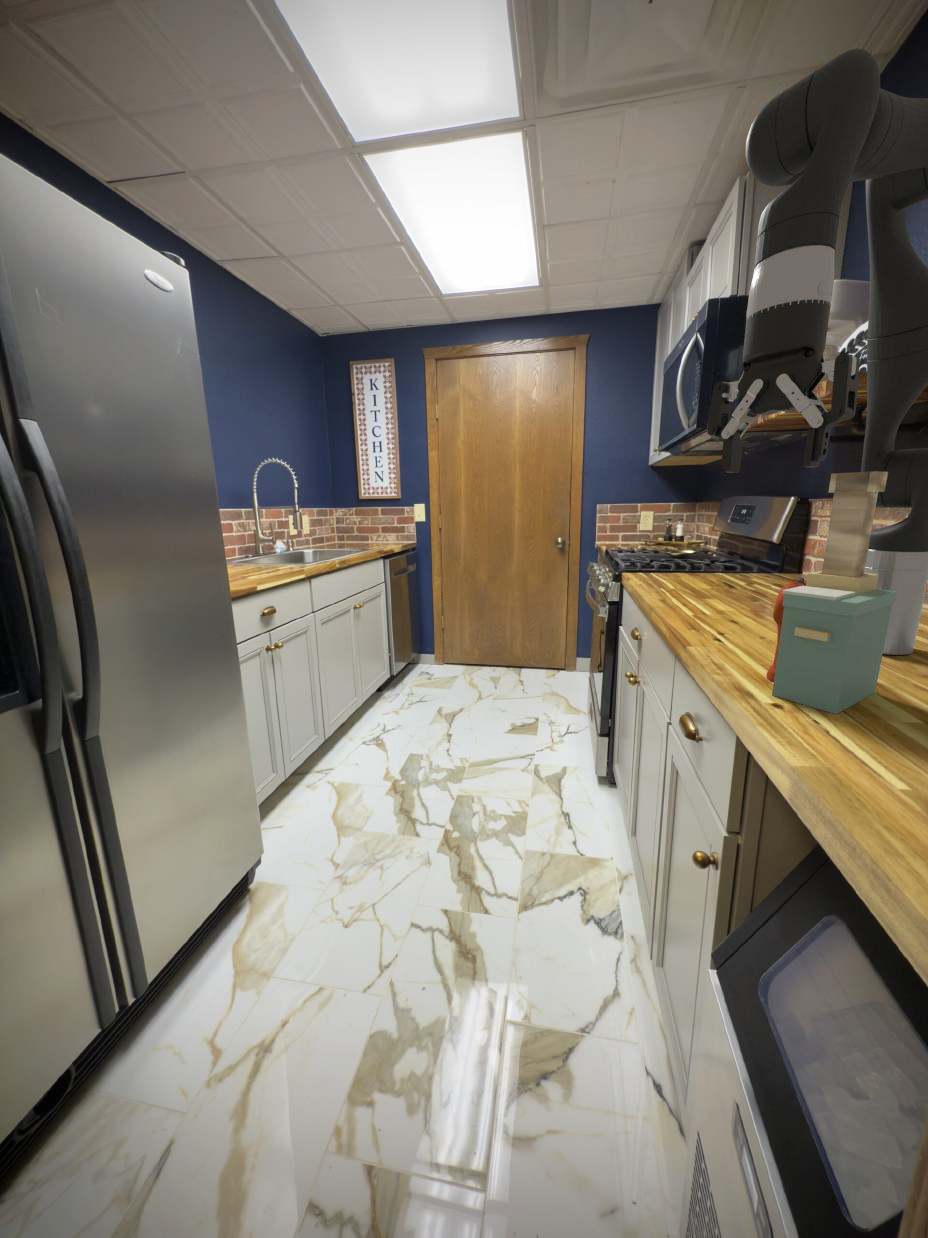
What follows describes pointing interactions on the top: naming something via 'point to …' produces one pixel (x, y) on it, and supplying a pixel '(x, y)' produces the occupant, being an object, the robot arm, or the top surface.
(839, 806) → the top surface
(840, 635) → the tool chest
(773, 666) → the toy drill
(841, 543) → the wooden key
